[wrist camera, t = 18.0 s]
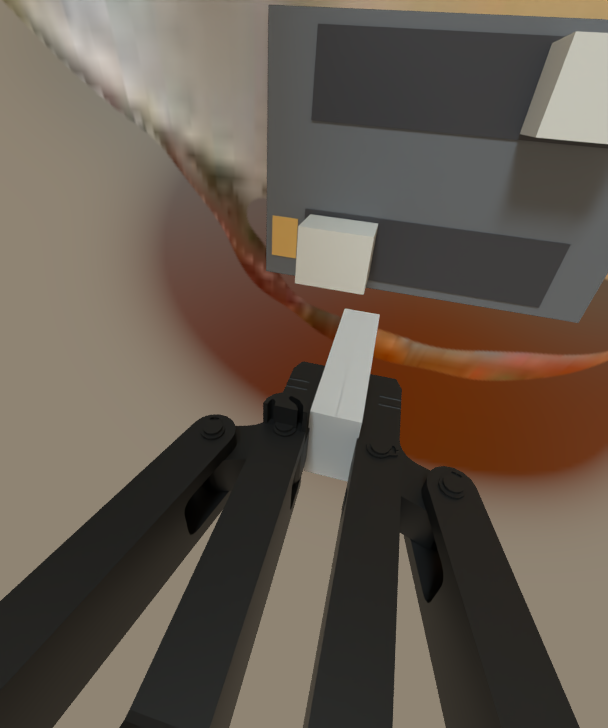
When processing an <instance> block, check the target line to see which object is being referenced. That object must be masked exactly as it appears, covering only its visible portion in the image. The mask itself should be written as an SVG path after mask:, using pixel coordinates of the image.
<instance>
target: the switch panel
mask: <svg viewBox="0 0 608 728" xmlns="http://www.w3.org/2000/svg"><path fill="white" fill-rule="evenodd" d="M576 31H580V32H600V33H608V20H604V19H581V18H558V17H535V16H513V15H490V14H467V13H444V12H421V11H398V10H376V9H353V8H330V7H307V6H284V5H269V15H268V127H267V239H266V271H270V272H276V273H282V274H288V275H294V276H295V273H296V256H297V239H298V226H299V225H300V224H301V223H302V222H303V221H304V220H305V219H306V218H307V217H308V216H309V215H310V214H313V215H320V216H327V217H335V218H342V219H349V220H356V221H364V222H371V223H378V229H377V234H376V239H375V245H374V250H373V256H372V261H371V267H370V272H369V277H368V281H367V284H366V288H372V289H379V290H384V291H390V292H396V293H403V294H408V295H415V296H420V297H426V298H432V299H438V300H444V301H450V302H456V303H462V304H468V305H474V306H480V307H486V308H492V309H498V310H504V311H510V312H516V313H522V314H528V315H534V316H540V317H546V318H552V319H558V320H565V321H570V322H577V323H578V322H579V320H580V319H581V317H582V316H583V314H584V312H585V310H586V309H587V307H588V305H589V304H590V302H591V300H592V299H593V297H594V295H595V293H596V292H597V290H598V288H599V287H600V285H601V283H602V282H603V280H604V278H605V277H606V275H607V273H608V144H600V143H589V142H578V141H568V140H557V139H546V138H536V137H531V136H526V135H522V134H520V132H521V129H522V126H523V123H524V121H525V118H526V115H527V112H528V109H529V107H530V104H531V101H532V98H533V95H534V93H535V90H536V87H537V84H538V81H539V79H540V76H541V73H542V70H543V67H544V65H545V62H546V59H547V56H548V53H549V50H550V48H551V45H552V43H553V42H555V41H557V40H560V39H562V38H564V37H566V36H568V35H570V34H572V33H574V32H576Z"/></svg>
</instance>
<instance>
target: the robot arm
mask: <svg viewBox="0 0 608 728" xmlns="http://www.w3.org/2000/svg"><path fill="white" fill-rule="evenodd" d="M378 322H379V314H374V313H368V312H362V311H357V310H351V309H344V312H343V315H342V318H341V321H340V324H339V327H338V330H337V333H336V336H335V339H334V342H333V345H332V348H331V351H330V354H329V357H328V360H327V363H326V366H323V365H318V364H313V363H308V362H301V363H300V364H299V365H297V366H296V367H295V368H294V369H293V371H292V374H291V376H290V379H289V380H288V382H287V385H286V387H285V389H284V391H283V393H278V394H274V395H272V396H270V397H268V398H267V399H266V401H265V402H264V403H263V410H264V411H263V423H260V424H257V425H250V426H235V424H234V422H233V421H232V420H231V419H230V418H228V417H227V416H223V415H208V416H205V417H202V418H201V419H199V420H198V421H196V422H195V423H194V424H193V425H192V426H191V427H190V428H188V429H187V430H186V431H185V432H184V433H183V434H182V435H181V436H180V437H178V438H177V439H176V440H175V441H174V442H173V443H172V444H171V445H170V446H169V447H168V448H167V449H165V450H164V451H163V452H162V453H161V454H160V455H159V456H158V457H157V458H156V459H155V460H153V462H151V463H150V464H149V465H148V466H147V467H146V468H145V469H144V470H143V471H141V472H140V473H139V474H138V475H137V476H136V477H135V478H134V479H133V480H132V481H131V482H129V483H128V484H127V485H126V486H125V487H124V488H123V489H122V490H121V491H120V492H119V493H118V494H117V495H115V496H114V497H113V498H112V499H111V500H110V501H109V502H108V503H107V504H106V505H104V506H103V507H102V508H101V509H100V510H99V511H98V512H97V513H96V514H95V515H94V516H93V517H91V518H90V519H89V520H88V521H87V522H86V523H85V524H84V525H83V526H82V527H81V528H79V529H78V530H77V531H76V532H75V533H74V534H73V535H72V536H71V537H70V538H69V539H67V540H66V541H65V542H64V543H63V544H62V545H61V546H60V547H59V548H58V549H57V550H55V552H53V553H52V554H51V555H50V556H49V557H48V558H47V559H46V560H45V561H44V562H43V563H41V564H40V565H39V566H38V567H37V568H36V569H35V570H34V571H33V572H32V573H30V574H29V575H28V576H27V577H26V578H25V579H24V580H23V581H22V582H21V583H20V584H18V586H16V587H15V588H14V589H13V590H12V591H11V592H10V593H9V594H8V595H7V596H5V597H4V598H3V599H2V600H1V601H0V728H53V727H54V725H55V724H56V723H57V721H58V720H59V719H60V718H61V716H62V715H63V714H64V712H65V711H66V710H67V708H68V707H69V706H70V705H71V703H72V702H73V701H74V700H75V698H76V697H77V696H78V694H79V693H80V692H81V691H82V689H83V688H84V687H85V685H86V684H87V683H88V682H89V680H90V679H91V678H92V676H93V675H94V674H95V672H96V671H97V670H98V668H100V666H101V665H102V664H103V662H104V661H105V660H106V659H107V657H108V656H109V655H110V653H111V652H112V651H113V649H114V648H115V647H116V645H117V644H118V643H119V642H120V641H121V639H122V638H123V637H124V635H125V634H126V633H127V632H128V630H129V629H130V628H131V626H132V625H133V624H134V622H135V621H136V620H137V619H138V617H139V616H140V615H141V614H142V612H143V611H144V610H145V609H146V607H147V606H148V604H149V603H150V602H151V601H152V599H153V598H154V597H155V596H156V594H157V593H158V592H159V591H160V589H161V588H162V587H163V585H164V584H165V583H166V582H167V580H168V579H169V578H170V576H171V575H172V574H173V573H174V571H175V570H176V569H177V567H178V566H179V565H180V564H181V562H182V561H183V560H184V558H185V557H186V556H187V555H188V553H189V552H190V551H191V549H192V548H193V547H194V546H195V544H196V543H197V542H198V541H199V539H200V538H201V537H202V535H203V534H204V533H205V531H206V530H207V529H208V527H209V526H210V525H211V524H212V523H213V521H214V520H215V519H216V517H217V516H218V515H219V514H220V512H221V511H222V510H223V511H222V513H221V515H220V517H219V519H218V522H217V523H216V526H215V528H214V530H213V532H212V534H211V536H210V539H209V541H208V543H207V545H206V547H205V549H204V551H203V553H202V556H201V558H200V560H199V562H198V564H197V566H196V569H195V571H194V573H193V575H192V577H191V579H190V581H189V584H188V586H187V588H186V590H185V592H184V594H183V596H182V599H181V601H180V603H179V605H178V608H177V609H176V612H175V614H174V616H173V618H172V620H171V622H170V624H169V626H168V629H167V631H166V633H165V635H164V637H163V639H162V641H161V644H160V646H159V648H158V650H157V652H156V654H155V657H154V659H153V661H152V663H151V665H150V667H149V669H148V671H147V674H146V676H145V678H144V680H143V682H142V684H141V686H140V689H139V691H138V693H137V695H136V697H135V699H134V701H133V704H132V706H131V708H130V710H129V712H128V714H127V716H126V718H125V720H124V721H123V723H122V724H121V726H120V728H229V726H230V723H231V719H232V716H233V712H234V709H235V706H236V702H237V699H238V695H239V692H240V689H241V685H242V682H243V678H244V675H245V671H246V668H247V665H248V661H249V658H250V654H251V651H252V648H253V644H254V641H255V638H256V634H257V631H258V627H259V624H260V620H261V617H262V614H263V610H264V607H265V604H266V600H267V597H268V593H269V590H270V587H271V583H272V580H273V576H274V573H275V570H276V566H277V563H278V559H279V556H280V553H281V549H282V545H283V542H284V539H285V535H286V532H287V529H288V525H289V522H290V518H291V515H292V512H293V508H294V505H295V501H296V498H297V494H298V491H299V488H300V483H301V475H302V472H303V468H304V471H308V472H312V473H316V474H320V475H324V476H328V477H332V478H336V479H340V480H344V481H348V483H347V488H346V493H345V497H344V501H343V506H342V514H341V519H340V525H339V530H338V536H337V541H336V547H335V552H334V558H333V564H332V569H331V575H330V580H329V586H328V591H327V597H326V602H325V608H324V614H323V619H322V625H321V630H320V636H319V641H318V647H317V652H316V658H315V663H314V669H313V675H312V680H311V686H310V691H309V697H308V702H307V708H306V714H305V719H304V725H303V728H392V722H393V696H394V695H393V694H394V669H395V642H396V613H397V586H398V561H399V533H402V534H403V535H404V539H405V543H406V548H407V553H408V557H409V561H410V566H411V571H412V575H413V580H414V584H415V589H416V594H417V598H418V603H419V607H420V612H421V616H422V621H423V625H424V630H425V635H426V639H427V643H428V648H429V652H430V657H431V662H432V666H433V671H434V675H435V680H436V685H437V689H438V694H439V698H440V703H441V707H442V712H443V716H444V721H445V725H446V728H580V727H579V725H578V723H577V720H576V718H575V716H574V713H573V711H572V709H571V706H570V704H569V702H568V699H567V697H566V695H565V693H564V690H563V688H562V686H561V683H560V681H559V679H558V677H557V674H556V672H555V669H554V667H553V665H552V662H551V660H550V658H549V655H548V653H547V651H546V648H545V646H544V644H543V641H542V639H541V637H540V634H539V632H538V630H537V627H536V625H535V623H534V620H533V618H532V616H531V614H530V612H529V609H528V607H527V604H526V602H525V600H524V598H523V595H522V593H521V591H520V588H519V586H518V583H517V581H516V579H515V577H514V574H513V572H512V569H511V567H510V565H509V562H508V560H507V558H506V555H505V553H504V551H503V548H502V546H501V544H500V542H499V539H498V537H497V535H496V532H495V530H494V528H493V525H492V523H491V521H490V518H489V516H488V514H487V511H486V509H485V507H484V504H483V502H482V500H481V498H480V495H479V493H478V490H477V488H476V486H475V485H474V483H473V482H472V480H471V479H470V478H469V477H467V476H466V475H465V474H464V473H463V472H460V471H459V470H456V469H455V468H451V467H445V466H442V467H436V468H434V469H432V470H431V471H430V470H428V469H426V468H424V467H422V466H420V465H418V464H417V463H415V462H413V461H412V460H411V459H410V458H408V457H407V456H406V454H405V453H404V452H403V450H402V448H401V446H400V440H399V438H400V415H401V410H400V409H401V392H402V389H401V387H400V385H399V384H398V382H397V380H396V379H392V378H387V377H382V376H377V375H372V374H370V371H371V364H372V359H373V353H374V346H375V340H376V334H377V328H378Z"/></svg>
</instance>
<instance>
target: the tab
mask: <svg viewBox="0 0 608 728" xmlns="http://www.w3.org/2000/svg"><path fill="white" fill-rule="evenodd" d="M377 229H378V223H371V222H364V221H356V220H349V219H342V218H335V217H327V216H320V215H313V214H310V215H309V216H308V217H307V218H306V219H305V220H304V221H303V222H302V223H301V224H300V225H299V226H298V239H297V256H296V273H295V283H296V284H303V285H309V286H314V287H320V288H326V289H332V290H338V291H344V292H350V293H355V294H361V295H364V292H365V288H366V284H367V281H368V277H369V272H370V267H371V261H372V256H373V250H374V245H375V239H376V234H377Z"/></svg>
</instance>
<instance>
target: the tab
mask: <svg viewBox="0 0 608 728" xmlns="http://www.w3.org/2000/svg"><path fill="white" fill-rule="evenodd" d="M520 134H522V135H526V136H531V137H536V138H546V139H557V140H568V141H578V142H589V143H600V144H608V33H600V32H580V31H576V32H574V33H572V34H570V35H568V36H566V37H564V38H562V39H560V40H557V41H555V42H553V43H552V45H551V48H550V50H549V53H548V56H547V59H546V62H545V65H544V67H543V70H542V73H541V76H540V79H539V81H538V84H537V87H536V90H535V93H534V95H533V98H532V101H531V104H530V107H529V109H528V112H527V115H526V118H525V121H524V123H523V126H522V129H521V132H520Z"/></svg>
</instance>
